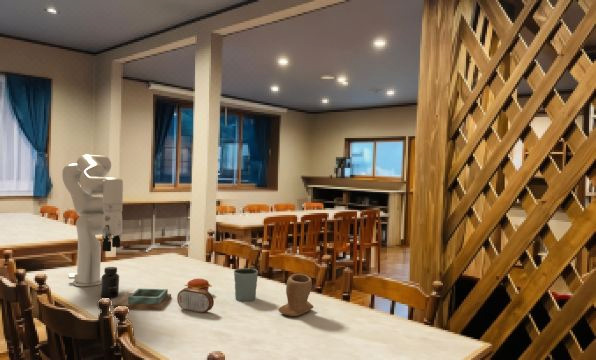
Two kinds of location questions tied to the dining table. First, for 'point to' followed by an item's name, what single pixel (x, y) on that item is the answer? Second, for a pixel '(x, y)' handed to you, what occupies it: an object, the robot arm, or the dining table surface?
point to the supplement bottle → (110, 283)
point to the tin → (195, 300)
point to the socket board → (144, 299)
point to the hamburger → (198, 284)
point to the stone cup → (297, 295)
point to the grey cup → (245, 284)
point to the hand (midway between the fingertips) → (111, 249)
